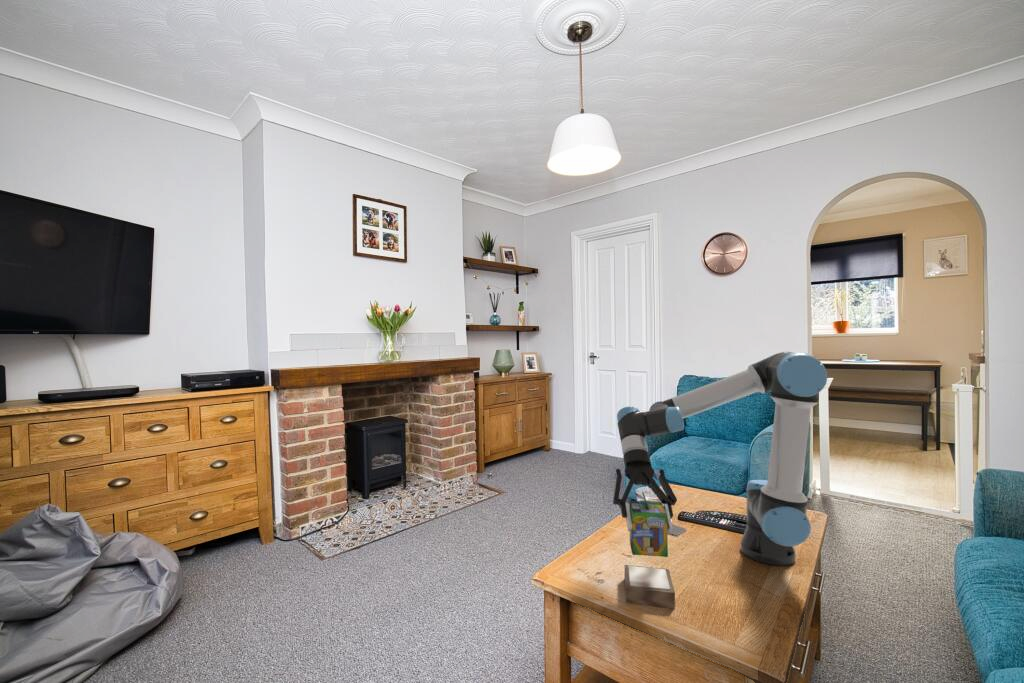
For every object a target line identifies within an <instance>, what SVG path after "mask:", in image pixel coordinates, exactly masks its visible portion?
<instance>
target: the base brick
mask: <svg viewBox="0 0 1024 683" xmlns="http://www.w3.org/2000/svg"><path fill="white" fill-rule="evenodd" d="M624 589H625V600H626V602H625V603H626V604H634V605H642V606H652V607H661V608H668V609H676V593H675V589H674V584H673V581H672V576H671V572H670V569H669V568H661V567H652V566H651V567H650V566H639V565H631V564H624Z"/></svg>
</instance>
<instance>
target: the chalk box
mask: <svg viewBox="0 0 1024 683" xmlns="http://www.w3.org/2000/svg"><path fill="white" fill-rule="evenodd" d="M642 496H643V499H644V500H629V509H630V515H631V521H632V530H631V531H629V545H630V549H631V553H632V556H633V555H634V556H645V557H646V556H648V557H649V556H650V557H663V558H668V557H669V551H668V550H669V549H668V533H667V513H666V511H665V508H664V505H663V503H662V502H661V501H660V502H659V501H650V500H647V499H646V496H645V493H644V491H642Z"/></svg>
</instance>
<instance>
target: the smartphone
mask: <svg viewBox="0 0 1024 683" xmlns="http://www.w3.org/2000/svg"><path fill="white" fill-rule="evenodd" d="M672 527H673V528H672V530H671V532H667V534H668V533H669V535H671V534H673V535H672V536H674V535H675V536H674V537H679V536H681V535H682V533H683V532H684V531H686V532H687V528H686V527H683V526H679V525H676V524H674V523H673V524H672ZM684 533H685V532H684ZM684 533H683V534H684ZM680 534H681V535H680ZM678 535H679V536H678Z"/></svg>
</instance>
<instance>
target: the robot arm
mask: <svg viewBox="0 0 1024 683" xmlns="http://www.w3.org/2000/svg"><path fill="white" fill-rule="evenodd" d="M827 382H828V372H827V370H826V367H825V365H824V364H823V362H822V361H820V360H819V359H818V358H816V357H815V356H812V355H810V354H808V353H806V352H805V353H804V352H792V351H781V352H777V353H775V354H773V355H770V356H769V357H766V358H764V359H761V360H759V361H757V362H755V363H752V364H750V365H748V367H747V369H745V370H743V371H741V372H737V373H735V374H732V375H730V376H727V377H725V378H721V379H718V380H716V381H713V382H711V383H708V384H706V385H703V386H700V387H698V388H695V389H692V390H690V391H686V392H684V393H682V394H678V395H675V396H673V397H671V398H668V399H666V400H663V401H656V402H654V403H652V405H651V406H650V408H649V410H648V411H642V412H641V411H640V409H639V408H638V407H635V406H630V405H629V406H624V407H622V408H620V409H619V410H618V412H617V414H616V419H617V428H618V434H619V439H620V445H621V451H622V452H621V453H622V455H623V457H622V459H623V463H624V469H620V468H616V469H615V472H614V476H615V480H616V481H615V488H614V492H613V500H612V504H614V506H615V505H617V506H619V508H620V513H621V517H622V519H623V518H624V519H625V520H626V528H627V532H630V531H631V530H632V521H631V515H630V506H629V503H627V500H628V499H629V495H630V493H631V491H632V488H633V486H639V485H641V486H647V487H648V488H649V489H651V491H652V492H653V493H654V495H655V496H656V497H657V498H658V500H659V501H660V502H661V503H662V505H663V506H664V508H665V511H666V513H667V532H671V530H672V528H673V527H672V523H673V522H672V519H673V517H674V513H673V512H674V511H673V507H672V506H675V505H676V503H677V502H678V499H677V496H676V494H675V493H674V491H673V489H672V488H671V486H670V483H669V482H668V480H667V478H666V476H665V470H664V469H662V468H661V469H660V470H655V469H654V468H653V466H652V462H651V458H650V457H651V456H650V454H649V448H648V444H647V439H646V437H651V436H657V435H663V434H664V435H666V434H670V433H672V434H675V433H676V432H681V431H684V429H685V423H684V422H685V421H684V419H686V418H689V417H692V416H694V415H697V414H700V413H702V412H705V411H708V410H711V409H714V408H716V407H719V406H722V405H725V404H728V403H731V402H733V401H736V400H739V399H742V398H745V397H748V396H749V395H752V394H753V395H754V394H756V393H761V394H766V393H768V392H770V398H771V400H773V402H774V403H775V407H774V413H773V414H774V416H773V423H772V424H773V426H772V436H771V444H770V454H769V455H770V456H769V461H768V462H769V465H768V473H767V474H768V475H767V479H752V480H749V481H747V483H746V489H745V491H746V527H745V530H744V533H743V535H742V538H741V541H740V551H741V553H742V554H744V556H746V557H747V558H749V559H752V560H754V561H756V562H759V563H762V564H767V565H770V566H771V565H772V566H781V567H782V566H790V565H792V564H794V563H795V562H796V549H795V547H797V546H799V545H800V544H802V543H804V542H806V541H807V540H808V539H809V537H810V535H811V533H812V527H811V526H812V525H811V523H810V519H809V518H808V516H807V511H808V510H807V509H808V500H809V499H808V497H807V496H806V495H805V494H804V493H803V487H804V486H803V485H804V484H803V483H804V473H805V464H806V456H807V448H808V446H807V445H808V437H809V428H810V420H811V419H810V418H811V410H812V408H813V407H814V406H816V405H817V404H818V403H819V397H820V396H819V395H820V393H821V391H823V390H824V388H825V387H826V385H827ZM624 476H625V477H626V478H627V479H628V480H629V482H628V484H627V486H626V488H625V490H624V493H623V495H622V497H621V498H620V492H621V485H622V479H623V478H624ZM653 476H655V478H656V479H657V480H658V482H659V483H660V486H661V487H660V486H659V485H658V484H657V483H656V480H655V478H654V477H653Z"/></svg>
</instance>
